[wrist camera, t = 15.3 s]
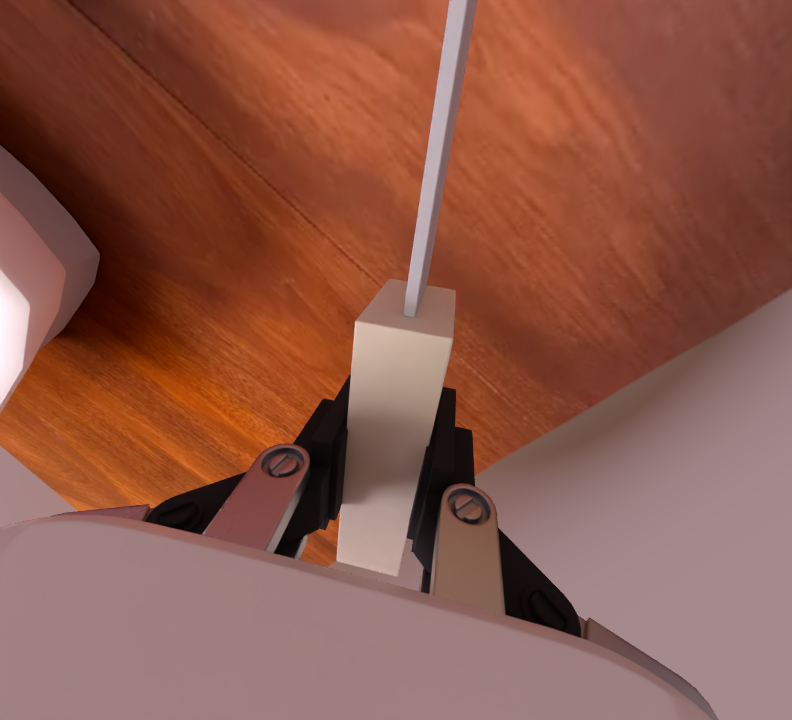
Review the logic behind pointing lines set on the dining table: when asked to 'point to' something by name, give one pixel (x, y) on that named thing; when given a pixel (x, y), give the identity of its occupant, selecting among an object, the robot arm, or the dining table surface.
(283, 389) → the dining table surface
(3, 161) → the bowl
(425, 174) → the knife
